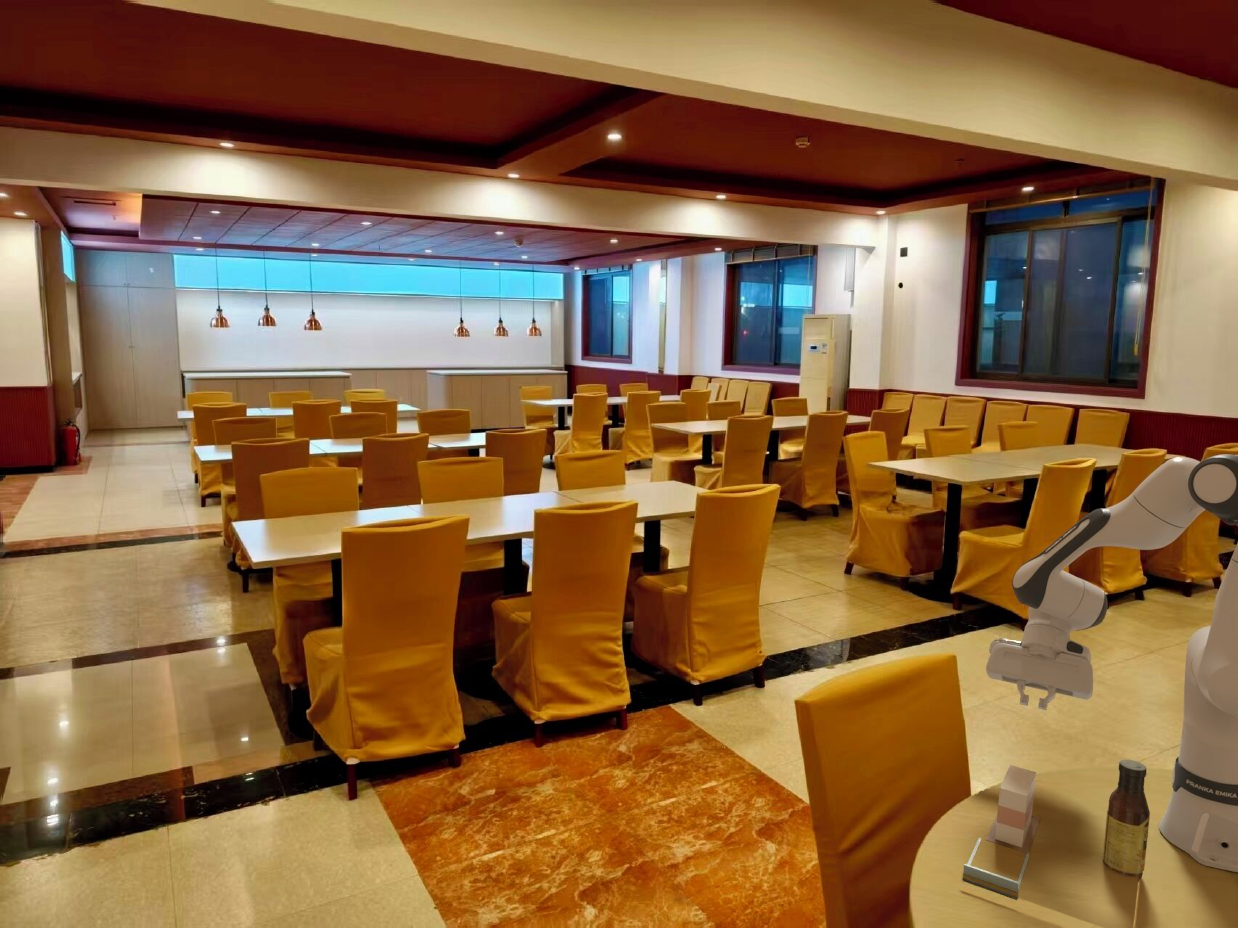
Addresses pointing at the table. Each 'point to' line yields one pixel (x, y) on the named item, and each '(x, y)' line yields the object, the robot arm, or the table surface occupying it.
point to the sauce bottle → (1127, 822)
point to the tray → (993, 876)
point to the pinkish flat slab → (1027, 841)
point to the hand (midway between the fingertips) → (1032, 706)
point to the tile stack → (1015, 805)
